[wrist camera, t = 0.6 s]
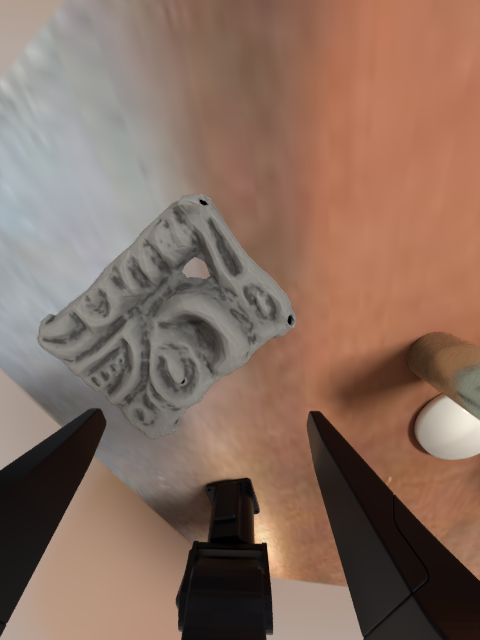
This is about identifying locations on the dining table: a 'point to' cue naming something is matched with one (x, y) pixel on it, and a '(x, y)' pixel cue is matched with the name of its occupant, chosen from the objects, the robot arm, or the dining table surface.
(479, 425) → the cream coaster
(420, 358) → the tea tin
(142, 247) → the wall plaque
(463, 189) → the dining table surface
